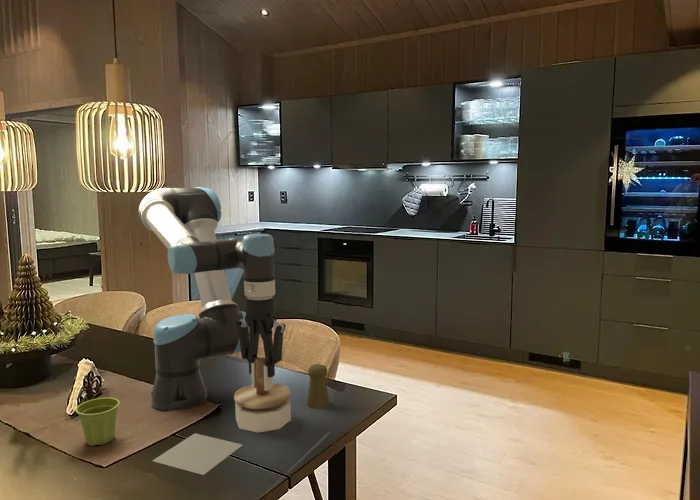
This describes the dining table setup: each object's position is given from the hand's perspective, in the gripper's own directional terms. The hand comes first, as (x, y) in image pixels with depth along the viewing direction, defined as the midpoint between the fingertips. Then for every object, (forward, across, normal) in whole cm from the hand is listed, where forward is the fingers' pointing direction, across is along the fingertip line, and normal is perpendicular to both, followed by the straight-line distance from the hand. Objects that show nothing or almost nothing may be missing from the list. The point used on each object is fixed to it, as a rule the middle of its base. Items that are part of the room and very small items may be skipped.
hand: (262, 387), depth 137 cm
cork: (+9, +8, +15) cm, 19 cm away
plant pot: (+9, -30, -24) cm, 40 cm away
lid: (+3, 0, 0) cm, 3 cm away
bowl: (+9, 0, 0) cm, 9 cm away
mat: (+9, -4, -20) cm, 22 cm away
